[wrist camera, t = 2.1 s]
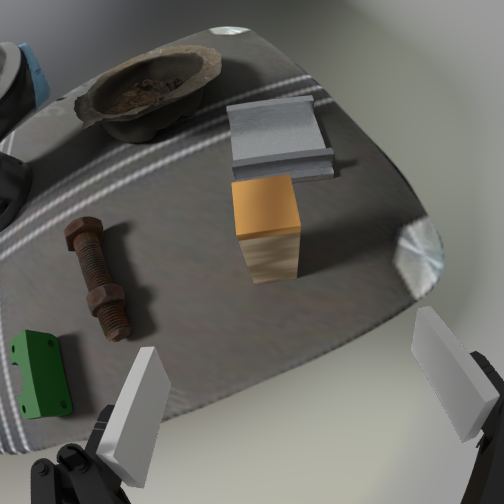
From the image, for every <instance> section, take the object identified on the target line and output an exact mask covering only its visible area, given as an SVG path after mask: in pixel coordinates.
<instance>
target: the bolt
mask: <svg viewBox="0 0 504 504" xmlns="http://www.w3.org/2000/svg"><path fill="white" fill-rule="evenodd" d="M64 233H65V238H66V243H67V247H68V251H76V254H77V256H78V259H79V262H80V266H81V269H82V273H83V276H84V279H85V282H86V285H87V288H88V291H89V294H88V295H87V297H86V300H87V303H88V307H89V309H90V312H91V315H92V316H94V317H98V319H99V322H100V324H101V327H102V329H103V331H104V333H105V336H106V339H108V341H111V340H112V341H113V342H117V341H120V340H122V339H124V338H125V337H127V336H128V335H129V334H130V333H131V330H132V327H131V325H130V323H129V320H128V317H127V315H126V313H125V311H124V309H123V307H124V306H125V304H126V297H125V293H124V291H123V289H122V286H120V285H117V284H114V283H113V280H112V277H111V275H110V273H109V270H108V267H107V265H106V261H105V258H104V256H103V253H102V250H101V245H100V242H102V241H103V240H104V238H103V225H102V222H101V220H99V219H97V218H94V217H82V218H79V219H76V220H74V221H72V222H71V223H70V224H69V225H68V226H67V227H66V229H65V230H64Z"/></svg>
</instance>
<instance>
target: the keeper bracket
mask: <svg viewBox="0 0 504 504" xmlns="http://www.w3.org/2000/svg"><path fill="white" fill-rule="evenodd" d="M226 108H227V114H228V118H229V123H230V131H231V141H232V151H233V161H231V162H232V169H233V173H234V177H235V181H236V182H240V181H247V180H253V179H260V178H267V177H274V176H281V175H288V174H290V177H291V181H292V183H296V182H304V181H312V180H321V179H329V178H333V177H334V171H333V168H332V165H333V159H334V152H333V149H332V148H326V147H325V144H324V141H323V138H322V135H321V133H320V130H319V127H318V124H317V121H316V119H315V116H314V99H313V97H312V95H311V96H299V97H289V98H280V99H271V100H263V101H256V102H249V103H243V104H237V105H231V106H226Z"/></svg>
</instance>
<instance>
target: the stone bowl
mask: <svg viewBox="0 0 504 504" xmlns="http://www.w3.org/2000/svg"><path fill="white" fill-rule="evenodd" d="M221 58H222V56H221V55H220V54H219V53H218V52H217V51H215V49H213V48H210V47H209V48H208V47H204V46H193V45H188V46H185V45H184V46H170V47H166V48H162V49H161V50H154V51H151V52H147V53H144V54H142V55H139V56H137V57H134V58H132V59H130V60H128V61H127V62H124V63H122V64H120V65H117V66H116V67H114V68H113V69H111V70H109V71H108V72H107V73H105V74H104V75H102V76H101V77H100V78H99V79H98V80H97V82H96V83H95V84H94V85H93V86H92V87H91V88H90V89H89V90H88V92H87V93H86V94H85V95H82V96H80V97H77V100H75V107H74V110H75V112H76V115H77V116H78V118H79V119H80V120H82V121H84V122H85V123H83V125H84V127H83V128H84V129H86V128H89V127H92V126H95V125H98V124H101V125H102V127H103V128H104V130H106V131H107V132H108V133H109V134H110V135H111V136H112V137H113V138H115V139H117V140H120V141H123V142H125V143H129V144H132V143H134V142H136V143H140V142H146V141H148V140H150V139H152V138H153V137H154V136H155V135H156V133H157V131H158V129H164V128H167V127H168V126H169V125H170V124H172V123H174V122H175V121H176V120H177V119H178V118H179V117H190V116H192V115H193V114H194V113H195V112H196V111H197V109H198V107H199V106H200V104H201V101H202V98H203V93H204V87H205V85H206V84H207V83H208V82H209V81H211V80H212V79H213V78H215V77H216V76H218V75H219V74H220V72H221V67H222V65H221V64H222V63H221Z"/></svg>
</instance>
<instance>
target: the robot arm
mask: <svg viewBox="0 0 504 504" xmlns="http://www.w3.org/2000/svg"><path fill="white" fill-rule="evenodd" d="M49 96H50V87H49V85H48V82H47V80H46V78H45V76H44V74H43V72H42V70H41V68H40V66H39V63H38V61H37V59H36V57H35V55H34V53H33V51H32V49H31V47H30V45H29V44H28V43H24V44H22V45H20V46H18V47H17V46H16V45H15V44H14V43H11V42H3V43H0V143H1V141H2V140H4V139H5V138H6V137H7V136H8V135H9V134H10V133H11V132H12V131H13V130H14V129H15V128H16V127H17V126H19V125H20V123H22V122H23V121H24V120H25V119H26V118H28V117H29V116H30V115H31V114H32V113H34V112H35V111H37V109H38V107H40V106H41V105H42V104H43V103H44V102H45V101H46V100H47V99H48V98H49ZM31 181H32V172H31V169H30V168H29V167H28V166H27V165H26V164H25V163H24V162H23V161H21V160H19V159H17V158H14V157H12V156H10V155H7V154H5V153H2V152H1V151H0V231H1V230H2V229H3V228H5V227H6V226H7V225H8V224H9V223H10V222H11V221H12V220H13V218H14V217H15V216H16V214H17V213H18V211H19V210H20V208H21V207H22V205H23V203H24V201H25V199H26V197H27V194H28V192H29V189H30V186H31ZM411 352H412V353H413V355H414V357H415V358H416V360H417V362H418V363H419V365H420V367H421V368H422V370H423V372H424V373H425V375H426V376H427V379H428V380H429V382H430V384H431V385H432V387H433V389H434V391H435V393H436V394H437V396H438V398H439V400H440V402H441V403H442V405H443V407H444V409H445V411H446V413H447V414H448V416H449V418H450V420H451V422H452V424H453V426H454V427H455V430H456V432H457V434H458V435H459V437H460V439H461V441H462V443H463V442H466V441H468V440H470V439H472V438H474V437H476V436H477V434H478V433H479V431H480V429H482V430H483V432H484V435H483V436H482V438H481V439H480V441H479V442H478V444H477V446H476V448H478V446H479V445H480V447H479V451H478V455H477V458H476V461H475V464H474V468H473V471H472V474H471V477H470V480H469V483H468V485H467V488H466V491H465V493H464V496H463V499H462V501H461V504H504V381H503V379H502V378H501V377H500V376H499V374H498V373H497V371H495V369H494V368H493V366H492V365H490V363H489V361H488V360H487V359H486V358H485V356H483V355H482V354H480V353H479V352H477V351H475V352H472V353H469V352H468V351H467V350H466V349H465V348H464V346H463V345H462V344H461V342H460V341H459V340H458V338H457V337H456V336H455V335H454V334H453V332H452V331H451V330H450V329H449V328H448V326H447V325H446V324H445V323H444V321H442V319H441V318H440V317H439V316H438V314H437V313H436V312H435V311H434V310H433V309H432V307H431V306H426V307H422V308H418V309H417V315H416V322H415V328H414V334H413V340H412V346H411ZM170 388H171V383H170V381H169V379H168V376H167V374H166V372H165V370H164V367H163V365H162V363H161V361H160V358H159V356H158V354H157V351H156V349H155V347H141V349H140V351H139V353H138V355H137V357H136V360H135V362H134V364H133V366H132V368H131V371H130V373H129V375H128V377H127V380H126V382H125V384H124V386H123V389H122V391H121V393H120V396H119V398H118V400H117V403H116V405H107V406H106V407H105V408H104V409H103V410H102V411H101V413H100V415H99V417H98V419H97V423H96V424H95V426H94V430H93V431H92V433H91V435H90V438H89V440H88V442H87V445H86V447H85V450H83V449H82V447H81V446H79V445H77V444H73V443H70V444H67V445H65V446H63V447H62V448H61V449H60V450H59V451H58V454H57V462H58V463H59V464H58V465H54V464H53V463H52V462H51V461H50V460H48V459H46V458H41V459H39V460H37V461H36V462H35V463H34V464H33V465H32V468H31V504H131V503H130V501H129V499H128V497H127V496H126V494H125V492H124V491H123V489H122V488H121V487H120V485H121V482H122V481H123V482H124V483H125V484H126V485H127V486H131V487H137V488H144V485H145V481H146V477H147V473H148V469H149V465H150V461H151V458H152V453H153V450H154V446H155V442H156V438H157V435H158V431H159V427H160V424H161V420H162V416H163V413H164V409H165V405H166V402H167V398H168V395H169V391H170Z"/></svg>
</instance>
